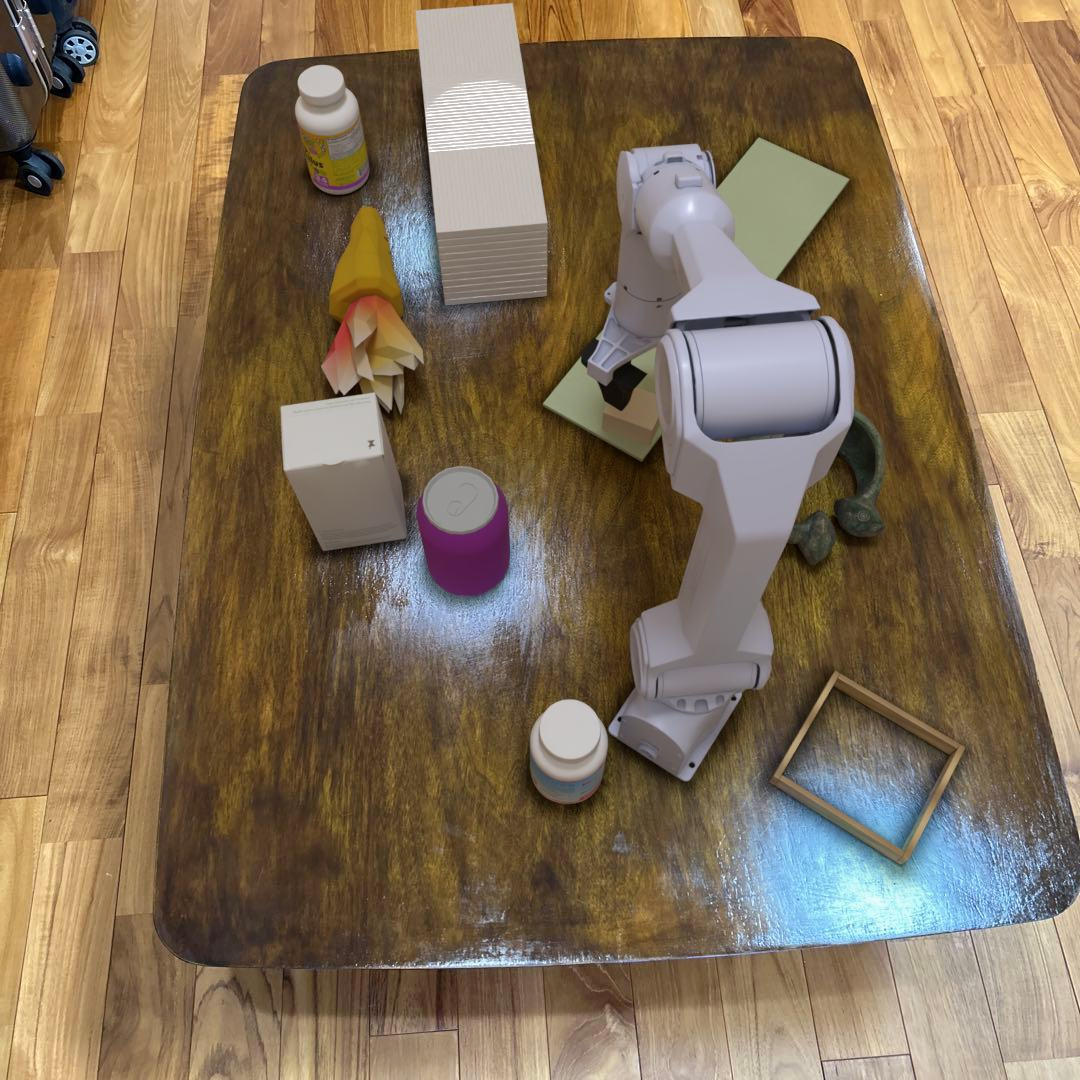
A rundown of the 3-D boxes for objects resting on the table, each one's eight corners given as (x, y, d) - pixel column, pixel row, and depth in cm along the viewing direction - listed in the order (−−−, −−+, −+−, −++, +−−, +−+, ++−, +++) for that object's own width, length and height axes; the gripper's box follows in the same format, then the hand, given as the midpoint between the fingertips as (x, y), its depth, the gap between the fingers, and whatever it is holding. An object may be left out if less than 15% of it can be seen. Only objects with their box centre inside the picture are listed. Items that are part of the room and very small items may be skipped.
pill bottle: (596, 812, 88) (603, 776, 78) (523, 797, 89) (521, 760, 79) (609, 741, 91) (617, 698, 81) (538, 727, 92) (538, 683, 81)
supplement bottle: (303, 165, 121) (278, 68, 110) (358, 147, 122) (339, 49, 111) (323, 205, 118) (300, 110, 107) (379, 186, 120) (362, 91, 108)
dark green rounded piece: (781, 598, 97) (806, 548, 88) (687, 474, 103) (701, 416, 94) (911, 523, 100) (947, 467, 92) (813, 407, 106) (838, 345, 97)
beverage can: (481, 615, 96) (474, 556, 86) (410, 575, 98) (394, 512, 87) (526, 549, 99) (525, 484, 88) (457, 511, 101) (447, 443, 90)
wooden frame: (900, 865, 86) (908, 860, 85) (768, 782, 89) (773, 776, 88) (957, 753, 90) (965, 747, 89) (829, 678, 94) (835, 670, 92)
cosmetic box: (402, 482, 102) (380, 387, 89) (409, 544, 99) (388, 455, 86) (313, 494, 102) (278, 401, 88) (318, 556, 99) (282, 469, 85)
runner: (641, 462, 103) (642, 459, 103) (542, 406, 106) (542, 403, 106) (848, 182, 120) (849, 178, 120) (757, 140, 123) (758, 137, 123)
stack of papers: (546, 296, 113) (547, 222, 103) (445, 305, 112) (436, 232, 102) (514, 84, 127) (512, 2, 117) (424, 92, 127) (415, 10, 117)
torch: (385, 261, 120) (395, 432, 105) (315, 240, 116) (316, 414, 102) (412, 204, 114) (427, 377, 100) (340, 180, 110) (345, 356, 96)
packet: (649, 447, 104) (652, 430, 101) (601, 429, 105) (603, 412, 102) (664, 415, 105) (667, 398, 103) (616, 398, 106) (618, 380, 104)
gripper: (663, 196, 89) (648, 303, 101) (558, 307, 84) (555, 406, 96) (735, 236, 87) (711, 340, 99) (632, 351, 82) (620, 446, 94)
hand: (639, 375), depth 97 cm, fingers open, 7 cm apart
